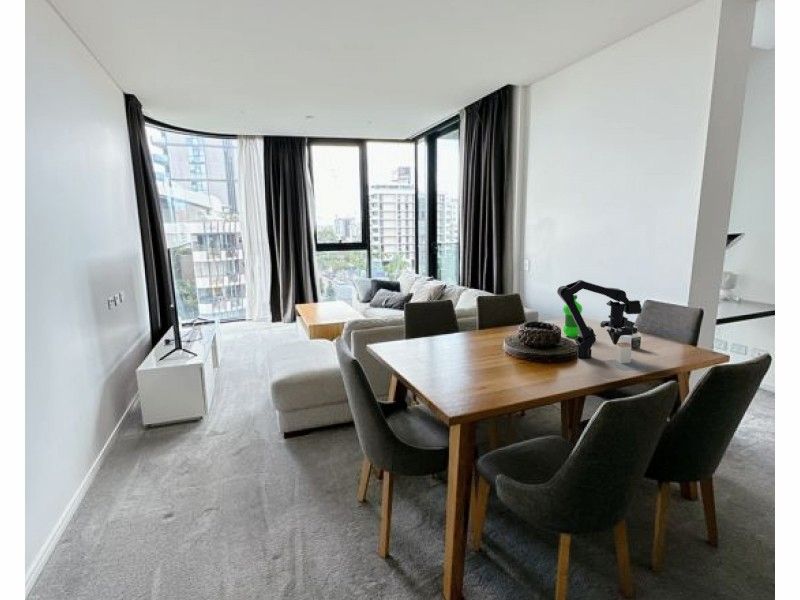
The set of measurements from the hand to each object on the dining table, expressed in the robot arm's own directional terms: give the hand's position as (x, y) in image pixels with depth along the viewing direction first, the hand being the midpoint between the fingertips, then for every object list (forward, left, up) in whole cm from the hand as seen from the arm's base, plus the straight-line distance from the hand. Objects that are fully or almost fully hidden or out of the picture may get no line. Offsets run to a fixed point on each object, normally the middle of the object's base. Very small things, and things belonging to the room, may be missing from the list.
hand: (615, 344), depth 206 cm
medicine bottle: (+17, +14, -7) cm, 23 cm away
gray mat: (0, -12, -7) cm, 13 cm away
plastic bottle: (-2, +42, -7) cm, 43 cm away
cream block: (0, -8, -6) cm, 10 cm away
